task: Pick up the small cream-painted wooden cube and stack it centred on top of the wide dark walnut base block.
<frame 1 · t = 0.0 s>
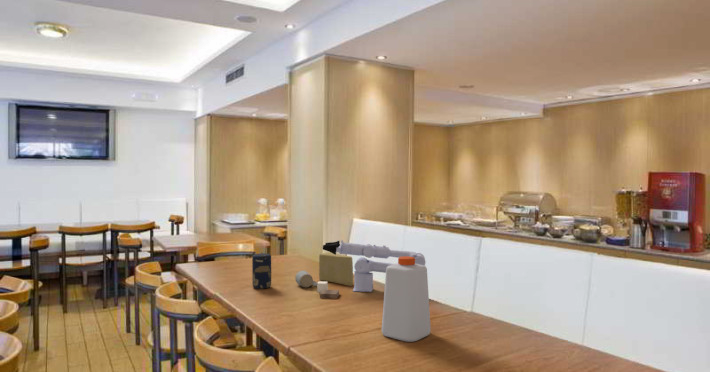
hand: (324, 246, 242), 22 cm above the table, tool horizontal, fingers open, 7 cm apart
cream cube: (322, 291, 237), on the table
walnut base: (329, 297, 228), on the table
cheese: (338, 282, 258), on the table
plastic bottle: (406, 335, 174), on the table
ceramic mug: (306, 286, 248), on the table
canister: (261, 287, 245), on the table
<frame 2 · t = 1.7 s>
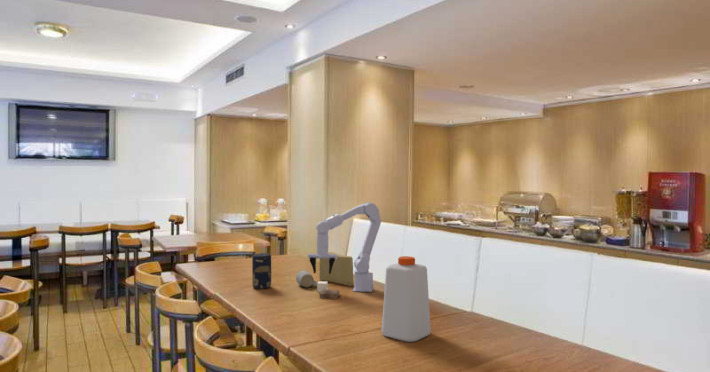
hand: (322, 273, 237), 9 cm above the table, tool pointing down, fingers open, 7 cm apart
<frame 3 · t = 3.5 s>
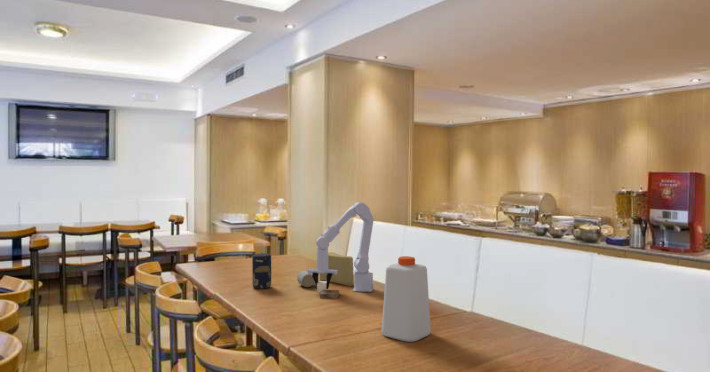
hand: (322, 288, 237), 1 cm above the table, tool pointing down, fingers closed on cream cube, 4 cm apart
cream cube: (322, 291, 237), on the table, touching gripper
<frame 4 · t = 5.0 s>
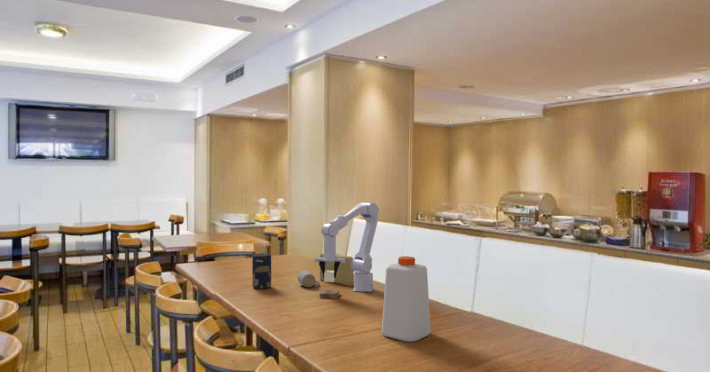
hand: (329, 277, 228), 9 cm above the table, tool pointing down, fingers closed on cream cube, 4 cm apart
cream cube: (329, 280, 228), point 7 cm above the table, touching gripper
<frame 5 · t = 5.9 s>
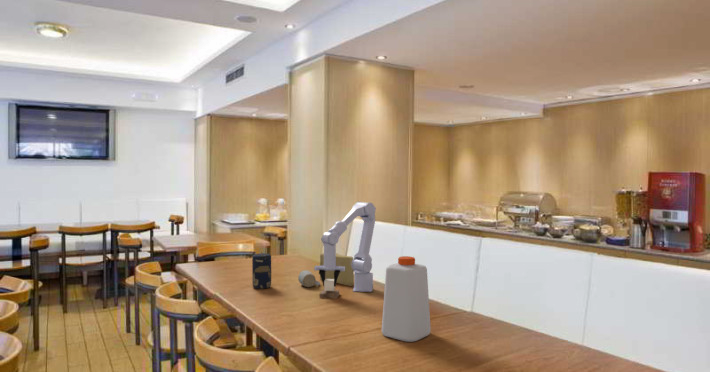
hand: (329, 285, 228), 5 cm above the table, tool pointing down, fingers closed on cream cube, 4 cm apart
cream cube: (329, 289, 228), point 3 cm above the table, touching gripper
when the fingers open (5 cm above the table, at t = 6.6 s): cream cube drops 1 cm, resting on walnut base.
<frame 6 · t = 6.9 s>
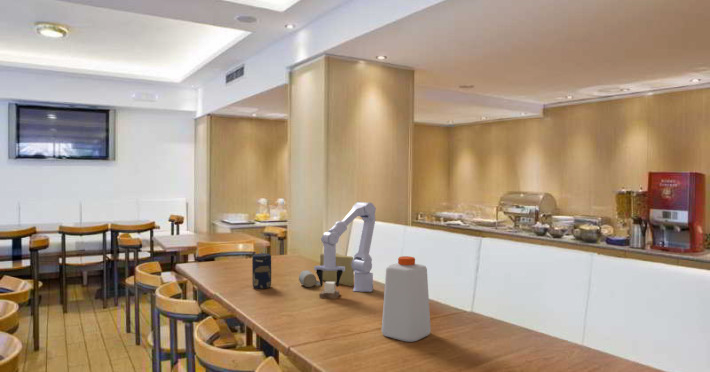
hand: (329, 285, 228), 5 cm above the table, tool pointing down, fingers open, 7 cm apart
cream cube: (329, 292, 228), point 2 cm above the table, touching walnut base
walnut base: (329, 297, 228), on the table, touching cream cube
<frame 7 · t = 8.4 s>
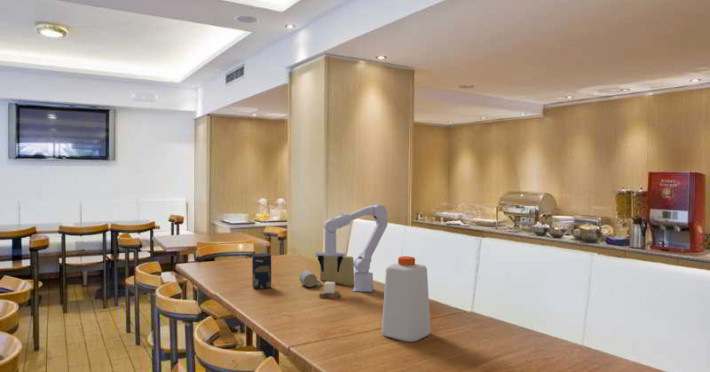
hand: (330, 271, 237), 10 cm above the table, tool pointing down, fingers open, 7 cm apart
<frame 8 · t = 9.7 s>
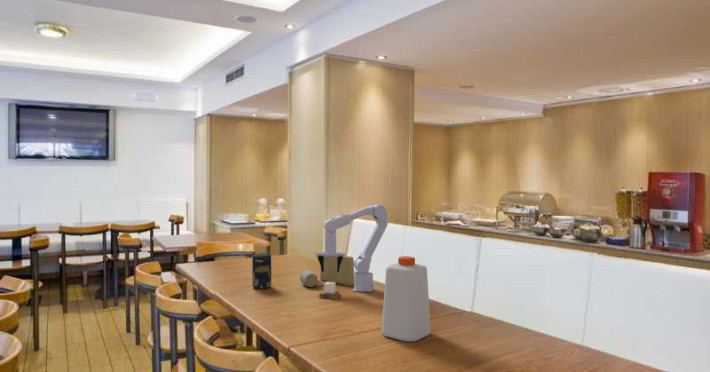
hand: (330, 271, 237), 10 cm above the table, tool pointing down, fingers open, 7 cm apart
at the end: cream cube 0.5 cm off-centre on the walnut base, point 2.5 cm above the walnut base's base; cream cube tilted 0°; the gripper is holding nothing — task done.
